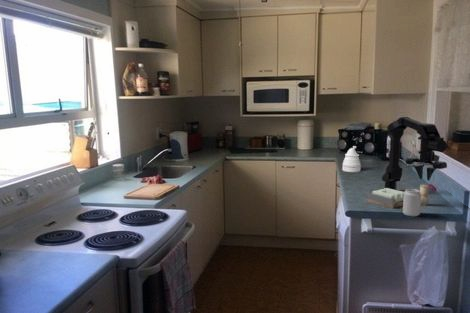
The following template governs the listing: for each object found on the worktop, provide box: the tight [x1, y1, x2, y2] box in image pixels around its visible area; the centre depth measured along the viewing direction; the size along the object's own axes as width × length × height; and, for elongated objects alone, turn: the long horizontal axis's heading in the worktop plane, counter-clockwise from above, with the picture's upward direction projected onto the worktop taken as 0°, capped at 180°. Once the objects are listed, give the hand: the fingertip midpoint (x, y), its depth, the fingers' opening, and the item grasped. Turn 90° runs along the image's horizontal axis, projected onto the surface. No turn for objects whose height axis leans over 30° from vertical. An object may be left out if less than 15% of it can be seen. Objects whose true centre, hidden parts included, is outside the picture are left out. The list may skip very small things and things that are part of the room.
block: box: [371, 187, 405, 202], centre depth 198 cm, size 12×12×4 cm
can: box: [402, 188, 422, 218], centre depth 177 cm, size 8×8×12 cm
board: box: [365, 192, 403, 209], centre depth 199 cm, size 20×16×4 cm
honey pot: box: [341, 145, 362, 173], centre depth 279 cm, size 13×13×18 cm
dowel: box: [419, 184, 430, 207], centre depth 192 cm, size 4×4×10 cm
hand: (424, 179), depth 190 cm, fingers open, 4 cm apart
